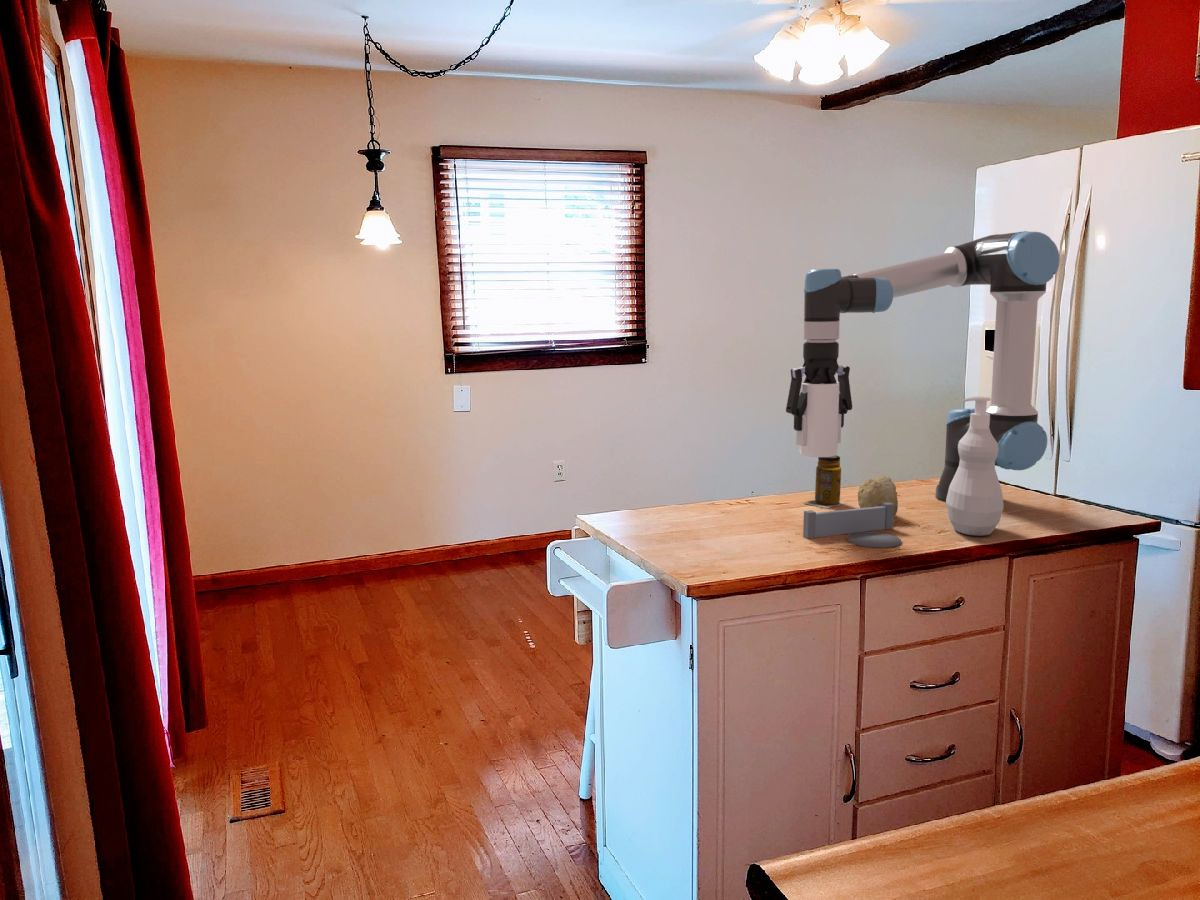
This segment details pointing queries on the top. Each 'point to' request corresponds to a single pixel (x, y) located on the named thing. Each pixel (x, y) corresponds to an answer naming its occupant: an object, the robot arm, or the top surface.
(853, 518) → the grey barrier wall
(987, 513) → the soap bottle
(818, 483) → the condiment
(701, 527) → the top surface
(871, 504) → the beige rough lump
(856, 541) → the slate coaster
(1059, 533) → the top surface
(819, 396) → the cup
